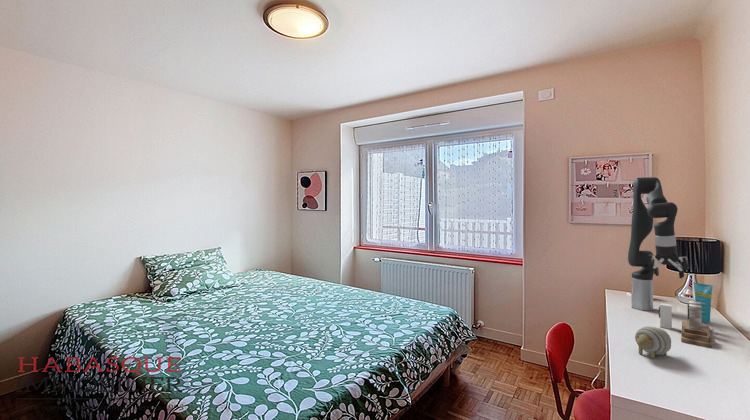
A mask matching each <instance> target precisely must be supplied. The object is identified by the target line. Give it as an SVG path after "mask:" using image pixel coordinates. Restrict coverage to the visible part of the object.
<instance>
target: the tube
mask: <svg viewBox="0 0 750 420" xmlns="http://www.w3.org/2000/svg"><path fill="white" fill-rule="evenodd" d="M693 289H694V300H695V301H694V302H700V303H701V318H702V323H704V324H705V323H706V324H710V323H711V310H712V308H711V307H712V295H713V294H712V293H713V285H712V284H707V283H706V284H704V283H699V282H693Z"/></svg>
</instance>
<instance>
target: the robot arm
mask: <svg viewBox="0 0 750 420" xmlns="http://www.w3.org/2000/svg"><path fill="white" fill-rule="evenodd" d="M632 193H633V194H632V199H633V201H632V202H633V203H632V216H631V226H630V227H631V231H630V232H631V233H630V240H629V242H630V243H629V245H628V246H629V247H628V252H627V254H628V255H627V261H628V265H630V266H631V267H639V268H640V267H641V268H640V269H639V270H635V271H633V272H632V273H631V295H630V296H631V308H632V309H633V308H634V309H636V310H641V311H650V312H651V311H654V275H655V276H656V277H659V276H660V271H659V270H660V269H659V266H661V265H663V266H665V265H666V266H667V265H668V266H674V268H676V269H677V270H678V277H679V279H683V278H684V277H685V271H687V270H689V269H690V265H689V260H688V256H687V255H685V256H679V255H678V247H677V246H678V245H677V238H676V235H675V233H676V231H675V221H676V217H677V214H678V205H676V203H674V202H673V201H672V202H671V201H670V202H669V201H668V200H667V198H666V197H665V196H664V191H663V187H662V183H661V180H660V179H659V178H658V177H654V176H651V177H647V176H646V177H643V176H642V177H635V178H634V180H633V187H632ZM642 195H647V196H646V202H647V204H648V207H647V206H646V205H645V204H644V202H643V199H642ZM662 218H664V219H665V218H666V219H665V220H664V221H660V222H656V223H654V219H662ZM653 229H654V230H653ZM652 230H653V231H654V246H655V253H656V254H653V252H652V251H651V250H640V248H641V245H642V243H644V240H645V239H646V238H647V237H648V236H649V235H650V234H651V232H652ZM655 259H656V261H657V262H656V263H655ZM678 261H680V262H682V263H683V266H682V265H681V263H680V262H678Z"/></svg>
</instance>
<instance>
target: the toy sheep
mask: <svg viewBox="0 0 750 420" xmlns="http://www.w3.org/2000/svg"><path fill="white" fill-rule="evenodd" d="M634 340H635V342H636V344H637V347H638V354H639V355H643V351H644V352H646V353H648V354H650V359H653V360H654V359H655V357H656V356H657V355H658V356H660V355H663V356H667V353H668V352H669V351H670V350H671V347H672V337H671V336H670V335H669V333H668V332H667V331H666V330H665V329H662V328H661V327H656V326H643V327H641V328H639V329H638V330H637V331H636V332H635V335H634Z"/></svg>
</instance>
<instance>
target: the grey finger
mask: <svg viewBox="0 0 750 420" xmlns="http://www.w3.org/2000/svg"><path fill="white" fill-rule="evenodd" d="M672 310H673V309H672V304H667V303H660V304H659V306H658V318H659V319H660V320H659V322H660V327H659V328H664V329H668V330H669V329H670V330H672V328H673V326H672V325H673V321H672V320H673V316H672V313H673V312H672Z"/></svg>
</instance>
